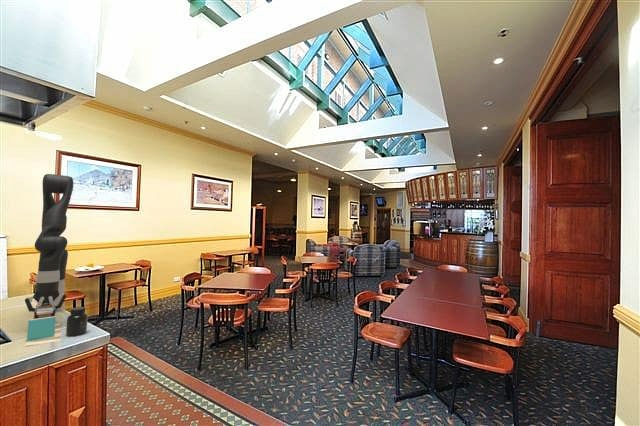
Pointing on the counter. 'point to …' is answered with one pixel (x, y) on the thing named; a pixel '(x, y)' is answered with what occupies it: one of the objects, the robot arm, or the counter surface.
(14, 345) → the counter surface
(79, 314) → the supplement bottle
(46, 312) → the brown block
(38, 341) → the board
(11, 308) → the counter surface
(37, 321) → the tile
